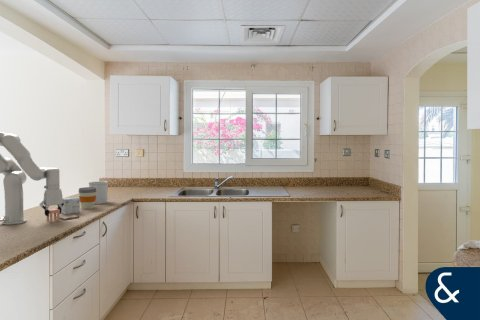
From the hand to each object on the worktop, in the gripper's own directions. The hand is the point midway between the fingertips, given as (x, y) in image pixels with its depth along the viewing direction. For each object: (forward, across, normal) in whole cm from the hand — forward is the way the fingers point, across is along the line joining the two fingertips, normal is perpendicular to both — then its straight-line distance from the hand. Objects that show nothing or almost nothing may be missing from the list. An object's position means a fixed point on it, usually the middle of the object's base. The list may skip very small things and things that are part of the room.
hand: (53, 214), depth 213 cm
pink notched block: (+4, 0, 0) cm, 4 cm away
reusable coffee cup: (+4, +36, +23) cm, 43 cm away
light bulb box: (+4, +18, +14) cm, 24 cm away
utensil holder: (+4, +54, +36) cm, 65 cm away
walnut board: (+4, +10, 0) cm, 10 cm away
